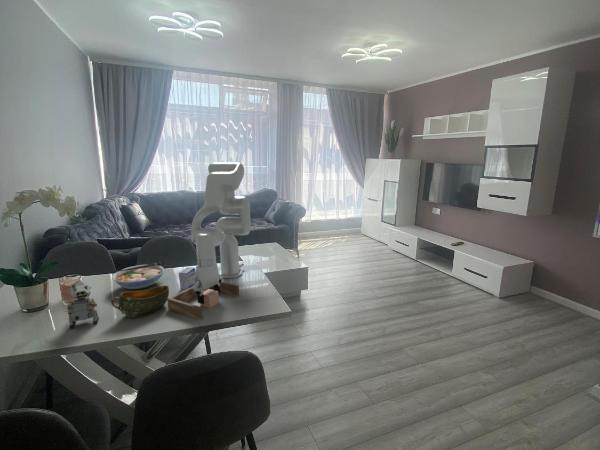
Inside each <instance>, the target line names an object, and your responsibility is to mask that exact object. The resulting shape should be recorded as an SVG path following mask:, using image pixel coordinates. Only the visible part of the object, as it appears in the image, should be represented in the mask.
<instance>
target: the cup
mask: <svg viewBox="0 0 600 450" xmlns="http://www.w3.org/2000/svg"><path fill="white" fill-rule="evenodd" d="M169 293H170V288H169V285H159V286H155V287H151V288H147V289H146V288H145V289H139V290H130V291H129V290H128V291H123V292H120V295H119V296H115V297H112V298H111V301H110V304H111V306H113V307H114V308H115V309H117V310H118V311H120V312H121V313H122V315H125V316H126V317H127V318H129V319H138V318H139V319H140V318H143V317H145V316H150V315H151V314H154V313H157V312H158V311H160V310H162V309H163V308H164V306H165V305H166V303H167V299H168V298H169V295H170V294H169ZM116 300H118V306H117V305H116V304H115V302H116Z"/></svg>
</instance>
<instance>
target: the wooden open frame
mask: <svg viewBox="0 0 600 450" xmlns="http://www.w3.org/2000/svg"><path fill="white" fill-rule="evenodd" d="M214 286H215V285H214ZM219 287H220V294H224V293H225V294H226V295H228V294H229V296H232V297H237V298H238V297H240V285H238V284H234V283H229V282H224V281H222V282H221V286H219ZM201 288H202V287H201ZM197 289H198V288H197ZM208 289H211V290H214V288H213V286H212V287H210V288H208ZM208 289H206V290H208ZM206 290H204V291H206ZM200 292H201V289H200ZM195 298H197V295H196V294H195V293H194V292H193V290H192V287H191V288H189V289H186V290H184V289H183V290H182V291H181V292H179V293H177V294H174V295H171V296H170V297H168V299H167V301H166V303H167V309H168V311H171V312H174V313H177V314H180V315H183V316H185V317H190V318H192V319H195V320H199V321H201V320H203V306H200V305H199V306H198V305H195V304H193V303H188V302H189V301H191V300H192V299H195Z"/></svg>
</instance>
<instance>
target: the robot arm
mask: <svg viewBox="0 0 600 450" xmlns="http://www.w3.org/2000/svg"><path fill="white" fill-rule="evenodd" d="M207 167H208V168H207V170H208V174H207V177H206V181H205V190H204V191H205V193H204V194H205V195H204V203H203V206H202V207H201V208H200V209H198V211H196V214H195V215H194V217H193V219H192V222H191V230H190V231H191V232H190V240H191V242H192V244H194V245H195V246H196V248H195V249H196V259H197V261H196V262H197V265H196V267H195V285H194V286H193V287H192V290H193V292H194V293H195V294H196V295H197V297H196V299H197V303H198V304H199V305H201V304H204V295H203V292H204V290H206V289H208V288H210V287H212V286H213V288H214V290H215V291H218V294H219V296H221V292H220V287H219V286H221V282H223V279H235V278H238V277H240V276H242V275H243V270H242V269H241V268H243V267H244V266H245V263H244V262H241V263H240V262H239V261H240V259H239V257H240V256H239V242H238V240H237V238H236V236H248V235H249V234H251V229H252V228H251V227H252V226H251V225H252V222H251V221H252V220H251V204H250V200H249V198H248V197H247V196H244V195H236V193H235V191H237V190H238V189H239V187H240V186H241V183H242V180H243V178H244V176H245V168H244V165H243V164H242V163H241V162H236V161H235V162H234V161H232V162H231V161H223V162H222V161H216V162H211V163H209V164H208V166H207ZM218 211H219V213H221V214H222V215H234V216H222V217H220V218H218V219H217V221H216V228H214V227H202V222H203V221H204V219H206V217H208V216H210V215H211V214H213V213H215V212H218ZM235 215H237V216H235ZM218 246H219V253H220V255H219V256H220V257H219V258H220V271H219V267H218V263H217V254H216V247H218ZM214 285H215V286H214ZM201 287H202V288H201ZM197 288H198V289H197ZM200 289H201V292H200Z"/></svg>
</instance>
